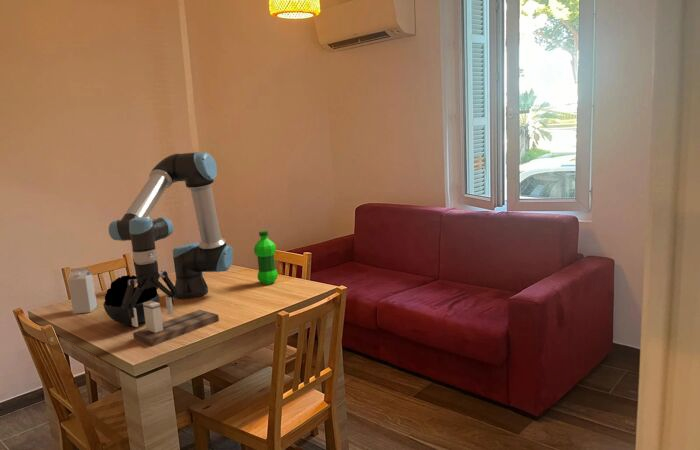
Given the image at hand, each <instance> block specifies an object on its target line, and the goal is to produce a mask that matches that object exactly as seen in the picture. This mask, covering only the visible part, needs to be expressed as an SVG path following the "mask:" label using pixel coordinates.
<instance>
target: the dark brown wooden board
mask: <svg viewBox="0 0 700 450" xmlns="http://www.w3.org/2000/svg"><path fill="white" fill-rule="evenodd" d="M219 321H220V317H219V314H218V313H213V312H211V311H206V310H203V309H202V310H201V309H197V310H195V311H192V312H190V313H186V314H184V315H180V316H178V317H174V318H172V319H168V320H166V321H162V325H163V330H162V331H159V332H157V333H154V332H152V331H149V330H146V327H145V328H143V329H140V330H138V331H137V330H136V331H135V332H134V331H133V333H132V335H133V340H134V341H138V342H140V343H142V344H145V345H147V346H151V347H154V346H156V345H160V344H162V343H165V342H167V341H170V340H172V339H175V338H177V337H179V336H183V335H185V334H188V333H191V332H193V331H196V330H199V329H201V328H205V327H206V326H209V325H212V324H215V323H217V322H219Z"/></svg>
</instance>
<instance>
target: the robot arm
mask: <svg viewBox="0 0 700 450" xmlns="http://www.w3.org/2000/svg"><path fill="white" fill-rule="evenodd" d="M217 167H218V166H217V163H216V161H215V158H214V156H212V155H211V154H210V153H208V152H200V151H199V152H198V151H197V152H196V151H195V152H184V153H174V154H170V155H168V156H166V157H164V158H163V159H161V160H160V161H159V162H158V163H157V164H156V165H155V166H154V167H153V168H152V170H151V171H150V173H149V174H148V175H149V176H148V177H149V178H148V180H147V181H146V183H145V184H144V186H143V187H142V189H141V190H140V192H139V193H138V194H137V196H136V197H135V199H134V200H133V202H132V203H131V205H130V206H129V207H128V209H127V210H126V211H125V213H124V214H123V216H122V218H121V219H117V220H116V219H115V220H112V221H111V222H110V223H109V226H108V234H109V236H110V238H111V239H112V240H113V241H114V240H115V241H122V242H126V241H127V242H128V241H131V243H130V244H131V247H132V248H131V249H132V260H133V259H134V262H135V263H136V264H135V265H134V264H133V267H134V266H135V267H134V271H135V272H134V273H135V276H136V279H133V280H131V279H128V281H127V284H128V286H127V289H126V293H125V296H124V299H123V302H122V305H121V307H122V308H125V309H128V315H129V318H131V319H132V325H131V326H132V327H135V328H137V327H139V324H138V320H137V312H136V308H134V306H135V304H136V302H137V300H138V299H139V297H140V295H141V293H142V292H143V291H144V289H149V288H150V287H155V286H157V287H158V288H157V289H159V290H160V291H162V293H164V294H165V295H166V296H165V303H166V313H167V314H168V315H171V316H173V315H174V307H173V306H174V305H175V301H174V300H175V299H180V300H184V299H185V300H187V299H194V298H198V297H199V298H200V297H203V296H204V295H207V294H208V293H209V287H208V284H207V283H206V280H205V277H204V275H203V273H220V272H226V271H229V270H230V268H231V267H232V265H233V261H234V260H233V259H234V249H233V247H232V246H231V245H228V244H227V242H226V239H225V238H224V237H222V235H221V234H222V233H221V230H220V229H221V228H220V225H219V219H218V214H217V209H216V204H215V198H214V194H213V189H212V186H213V184H214V183H215V181H214V180H215V179H216V178H217V176H218V168H217ZM177 182H184V183H185V187H186V188H187V189H189V190H190V192H191V198H192V203H193V207H194V211H195V217H196V222H197V226H198V231H199V236H200V239H201V241H200V243H199V242H195V241H194V242H189V243H185V244H182V245H181V244H180V245H178V246H175V248H173V249H172V250H173V251H172V258H173V264H174V265H173V266H174V272H175V284H174V283H173V282H172V280H171V279H170V278H169V275H168V272H167V271H166V270H161V271H160V272H159V264H158V258H157V257H158V256H157V250H156V242H157V241H160V240H163V239H166V238H167V237H169V236H171V235H172V234H173V233H174V232H173V231H174V224H173V222H172V220H171V219H170V218H168V217H166V216H165V217H163V216H162V217H157V218H151V217H149V216H150V215H151V213H152V212H153V210H154V208H155V207H156V205H157V204H158V202H159V200H160V199H161V197H162V196H163V194H164V193H165V192H166V189H169V188H170V187H172V185H173V184H174V183H177ZM156 259H157V261H155V260H156ZM134 262H133V263H134ZM160 278H161V279H162V280H163V282H164V283H165V285H166V286H165V285H164V284H162V282H161V281H160V280H159V279H160ZM158 280H159V281H158ZM134 286H135V287H136V290H135V292H134V294H133V296H132V293H133V290H134ZM174 298H175V299H174Z"/></svg>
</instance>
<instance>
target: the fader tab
mask: <svg viewBox="0 0 700 450" xmlns="http://www.w3.org/2000/svg"><path fill="white" fill-rule="evenodd" d="M160 304H161V303H160V302H158V303H157V302H154V301H148V302H144V303H143V308H144V315H145V321H144V322H145V328H146V330H149V331H152V332H154V333H157V332H159V331H162V330H163V325H162V323H163V318H162V310H161V305H160Z"/></svg>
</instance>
